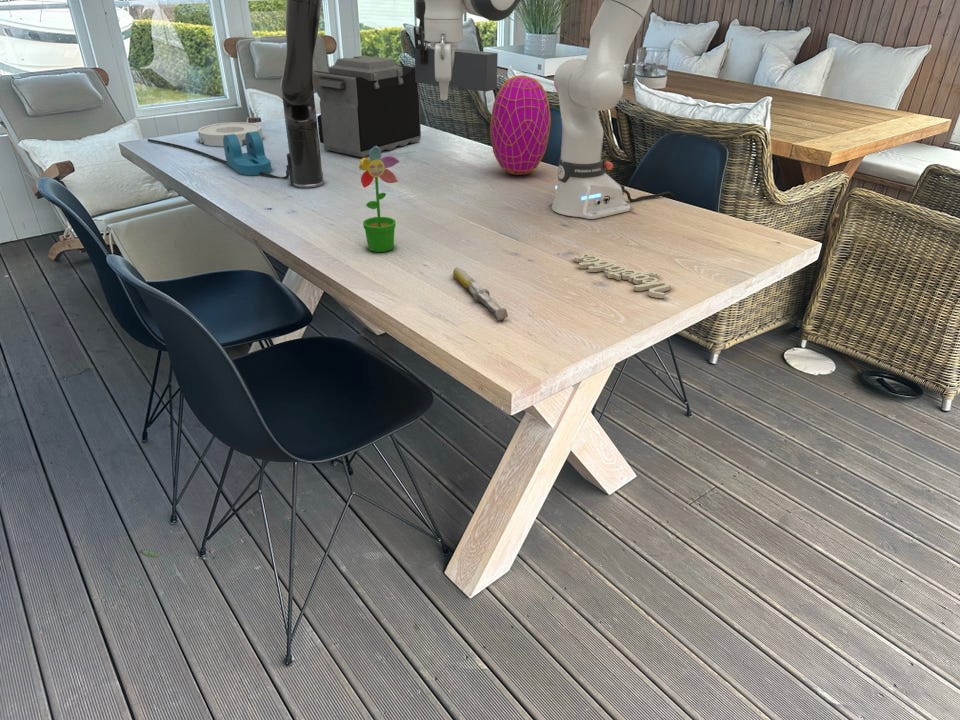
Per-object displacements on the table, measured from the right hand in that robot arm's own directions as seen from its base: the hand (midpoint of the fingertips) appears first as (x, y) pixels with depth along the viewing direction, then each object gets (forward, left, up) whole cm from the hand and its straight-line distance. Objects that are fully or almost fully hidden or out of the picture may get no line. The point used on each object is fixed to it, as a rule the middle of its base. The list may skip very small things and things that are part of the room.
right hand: (444, 96), depth 165 cm
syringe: (+8, +42, -33) cm, 54 cm away
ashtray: (+45, -123, -33) cm, 135 cm away
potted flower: (+20, +8, -33) cm, 39 cm away
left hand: (-12, -49, +1) cm, 50 cm away
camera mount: (+42, -77, -33) cm, 94 cm away
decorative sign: (-27, +43, -33) cm, 61 cm away
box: (-18, -41, -4) cm, 45 cm away
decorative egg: (-40, -41, -33) cm, 66 cm away
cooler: (-3, -95, -33) cm, 100 cm away
